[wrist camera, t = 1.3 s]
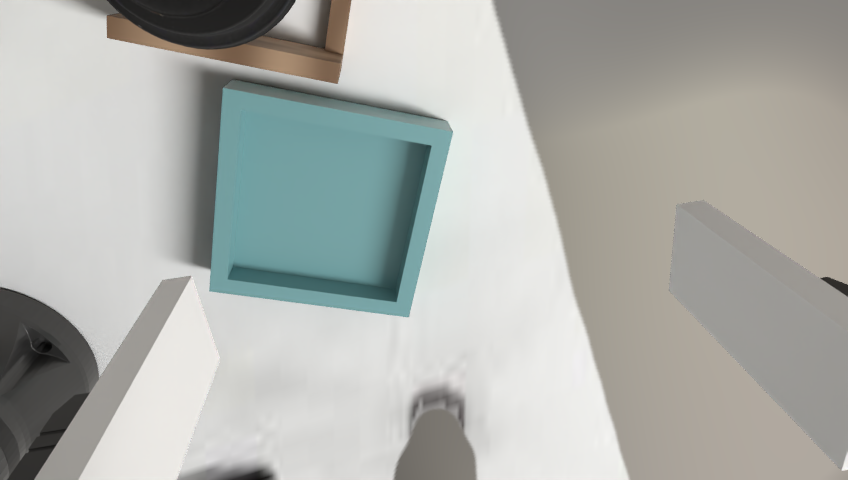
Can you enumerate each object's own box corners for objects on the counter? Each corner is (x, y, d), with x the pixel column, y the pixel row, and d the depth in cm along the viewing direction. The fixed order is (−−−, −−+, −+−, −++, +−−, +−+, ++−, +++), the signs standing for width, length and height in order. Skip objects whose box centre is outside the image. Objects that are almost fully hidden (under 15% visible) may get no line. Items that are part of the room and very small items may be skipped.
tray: (219, 271, 44) (209, 291, 42) (232, 79, 38) (222, 87, 35) (406, 297, 47) (408, 317, 44) (447, 121, 41) (452, 131, 38)
